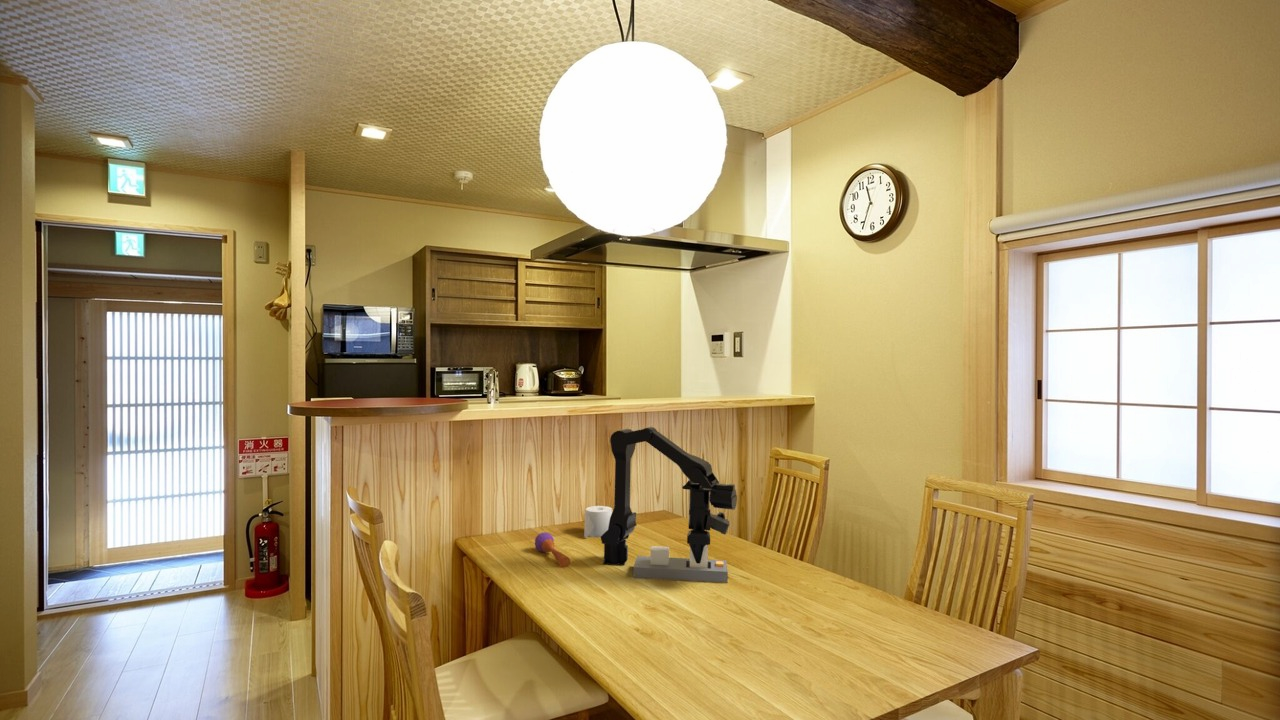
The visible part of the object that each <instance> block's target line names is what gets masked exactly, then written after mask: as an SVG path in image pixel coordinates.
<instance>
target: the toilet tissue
mask: <svg viewBox="0 0 1280 720" xmlns="http://www.w3.org/2000/svg"><path fill="white" fill-rule="evenodd" d="M584 510H585V513H584V527H583V528H584V532H583V533H584V534H583V537H584V538H585V539H587V538H588V537H591V538H592V537H593V538H601V536H602V535H603V534H604V533H605V532H606V531H607V530H608V526H609V521H610V517H611V514H612V512H613V508H612V507H610V506H606V505H592V506H589V507H586V508H585V509H584Z"/></svg>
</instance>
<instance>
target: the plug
mask: <svg viewBox="0 0 1280 720" xmlns="http://www.w3.org/2000/svg"><path fill="white" fill-rule="evenodd" d="M708 555H709V545H705V546H704V549H703V554H702V558H701V562H700V564H699V563H696V561H695V558H694V555H693V553H692V550H691V548H690V547H689V559H690V568H708V559H709V557H708Z"/></svg>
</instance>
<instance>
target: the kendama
mask: <svg viewBox="0 0 1280 720" xmlns="http://www.w3.org/2000/svg"><path fill="white" fill-rule="evenodd" d="M534 546H535V548H536V549H537V550H538V551H539V552H541V553H551V554H552V555H553V557H554V558H555V560H556V562H557V563H558V565H559V566H560V567H561V568H564V567H566V568H567V567H568V566H569V565H570V563H571V558H570V557H569V556H567V555H566V554H563V552H560V551H559V550H557V549H555V541H554V537H553V535H552V534H550V533H549V532H541V533H538V535H536V537H535V539H534Z"/></svg>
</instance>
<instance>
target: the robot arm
mask: <svg viewBox="0 0 1280 720" xmlns="http://www.w3.org/2000/svg"><path fill="white" fill-rule="evenodd" d="M609 441H610V449H611V453H612V455H613V458H614V461H615V463H614V498H613V499H614V503H613V504H614V506H613V508H612V514H611V517H610V521H609V526H608V530H607V531H606V532H605V533H604V534H603V535H602V536H601V537H600V541H601V544H603V545H604V546H603V547H604V548H603V561H602V565H614V566H615V565H616V566H625V565H626V563H627V561H628V559H629V545H627V540H628V539H629V537H630V535H631V534H632V533H633V532H634V531H635V527H637V526H638V525H637V512H633V511H632V508H631V473H632V472H631V469H632V468H631V466H632V465H631V464H632V458H633V456H634V455H633V454H634V453H635V449H636V445H637V444H638V443H644V442H646V443H647V444H648V445H650V446H651V447H653V448H655V450H657V451H658V452H660V453H661V454H662V455H664V456H665V457H666V458H668V459H669V460H670V461H671V462H673V463H674V464H676V465H677V466H678V467H679V469H680V470H681V472H682V474H683V475H685V477H686V478H687V479H688V481H687V482H686V483H685V484H684V485H682V487H681V488H682V490H689V494H688V495H689V497H688V498H689V500H688V502H689V504H688V508H689V509H688V532H687V537H686V544H688V545H689V549H690V548H691V550H692V553H693V555H694V558H695V561H696V563H699V564H700V562H701V558H702V554H703V549H704V546H705V545H708V546H709V545H711V534H710V531H711V530H714V531H716V532H719V533H720V534H722V535H727V532H728V530H729V527H730V520H728V519H727V518H726V516H725V513H724V512H721V511H719V512H718V513H717V514H713V513H711V508H710V506H712V507H713V508H715V509H722V510H723V509H724V510H733V511H734V510H736V507H737V503H738V495H737V489H736V486H735V484H732V483H730V484H723V483H720V481H719V480H718V478H717V477H716V476H715V474H714V472H713V468H712V464H711V463H709V462H708V461H707V460H705V459H703V458H700V457H699V456H696V455H693V454H692V453H691V454H690V453H689V452H687V451H685V450H684V449H683V448H682V447H680V446H678V445H677V444H676V443H674V442H673V441H671V440H670V439H669V438H667V437H666V436H665V435H663V434H662V433H661V432H659V431H658V430H657V429H656V427H653V426H648V427H645V428H642V429H636V430H632V429H631V428H630V429H629V428H624V429H620V430H619V429H618V430H615V431H614V432H613V433H612V434H611V435H610V438H609Z"/></svg>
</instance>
